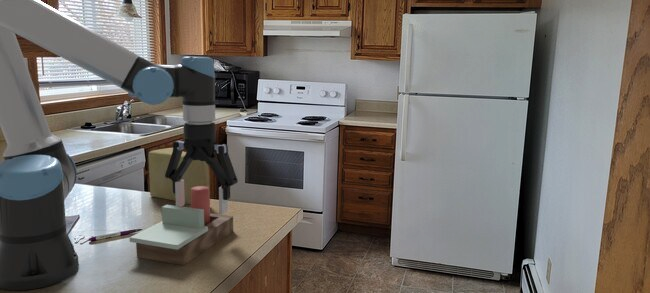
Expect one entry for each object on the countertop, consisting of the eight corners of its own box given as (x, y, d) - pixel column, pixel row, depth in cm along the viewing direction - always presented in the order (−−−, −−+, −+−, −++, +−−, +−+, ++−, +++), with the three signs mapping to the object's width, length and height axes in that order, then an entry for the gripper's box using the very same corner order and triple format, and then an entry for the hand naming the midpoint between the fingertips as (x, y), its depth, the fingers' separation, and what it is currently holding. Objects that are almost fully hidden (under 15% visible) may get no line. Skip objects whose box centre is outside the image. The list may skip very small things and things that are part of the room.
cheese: (221, 203, 149) (220, 155, 146) (195, 211, 141) (194, 160, 138) (174, 190, 162) (173, 145, 159) (148, 197, 154) (146, 150, 151)
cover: (177, 249, 103) (176, 226, 102) (129, 241, 107) (128, 219, 106) (208, 230, 114) (207, 210, 113) (164, 224, 118) (163, 204, 117)
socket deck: (183, 265, 106) (182, 247, 105) (136, 256, 109) (135, 239, 109) (233, 231, 126) (233, 216, 126) (192, 225, 130) (192, 210, 129)
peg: (204, 239, 121) (203, 191, 118) (188, 236, 122) (187, 189, 120) (213, 233, 125) (212, 187, 123) (198, 230, 126) (197, 185, 124)
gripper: (251, 123, 118) (252, 210, 122) (166, 117, 125) (169, 199, 129) (236, 127, 111) (237, 219, 115) (147, 120, 118) (151, 207, 122)
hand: (201, 209), depth 122 cm, fingers open, 11 cm apart
